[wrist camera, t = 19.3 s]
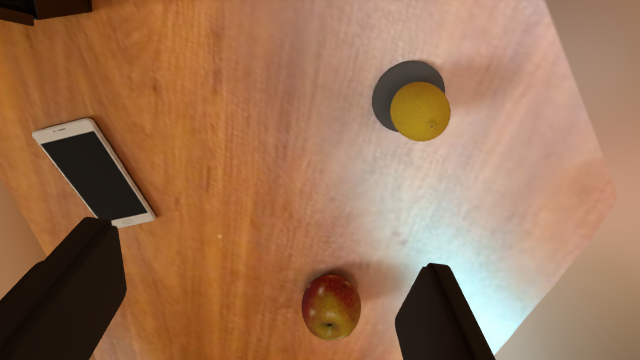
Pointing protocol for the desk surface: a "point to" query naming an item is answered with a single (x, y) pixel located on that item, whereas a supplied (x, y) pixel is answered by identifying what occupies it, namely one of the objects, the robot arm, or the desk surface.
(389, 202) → the desk surface
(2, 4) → the black open square box
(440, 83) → the coaster
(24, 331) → the robot arm
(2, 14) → the lid
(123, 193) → the smartphone
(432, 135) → the lemon
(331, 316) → the fruit
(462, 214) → the desk surface
